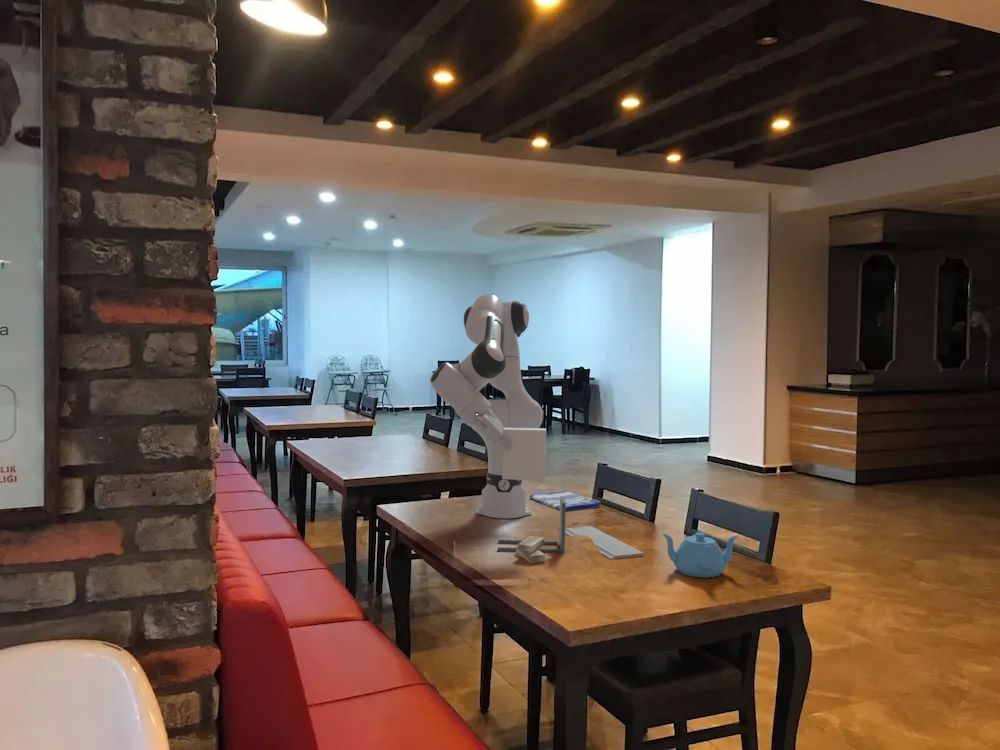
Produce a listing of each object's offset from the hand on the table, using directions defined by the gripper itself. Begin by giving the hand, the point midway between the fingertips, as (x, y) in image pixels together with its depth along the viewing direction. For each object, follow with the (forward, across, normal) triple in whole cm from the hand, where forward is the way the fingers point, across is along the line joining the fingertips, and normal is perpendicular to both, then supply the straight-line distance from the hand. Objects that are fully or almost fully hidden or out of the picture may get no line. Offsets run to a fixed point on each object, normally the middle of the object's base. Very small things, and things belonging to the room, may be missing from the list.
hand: (510, 446), depth 217 cm
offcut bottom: (+26, -9, +17) cm, 32 cm away
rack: (+25, -1, +17) cm, 30 cm away
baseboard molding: (+40, +10, +3) cm, 41 cm away
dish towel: (+36, +63, +7) cm, 73 cm away
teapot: (+56, -17, -14) cm, 61 cm away
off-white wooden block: (+9, 0, +4) cm, 10 cm away
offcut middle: (+24, -11, +16) cm, 31 cm away
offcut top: (+23, -9, +14) cm, 28 cm away
